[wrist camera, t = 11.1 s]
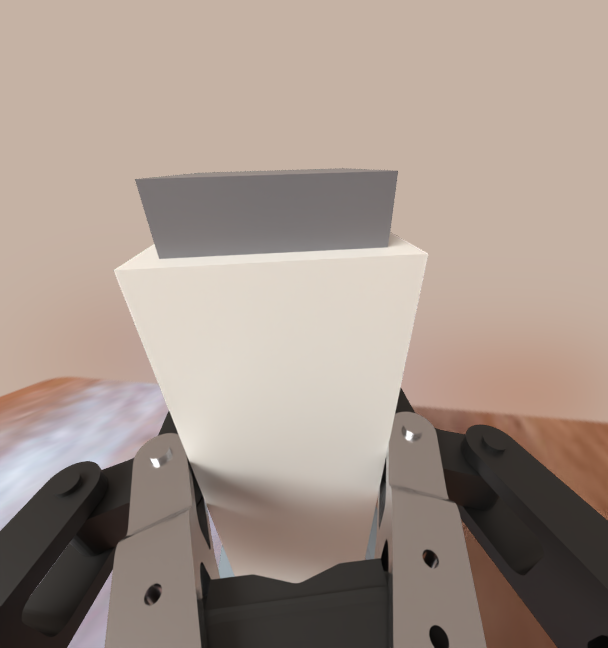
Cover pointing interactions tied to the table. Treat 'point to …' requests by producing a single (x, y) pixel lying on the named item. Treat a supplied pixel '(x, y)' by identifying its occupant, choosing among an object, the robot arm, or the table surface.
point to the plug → (279, 351)
